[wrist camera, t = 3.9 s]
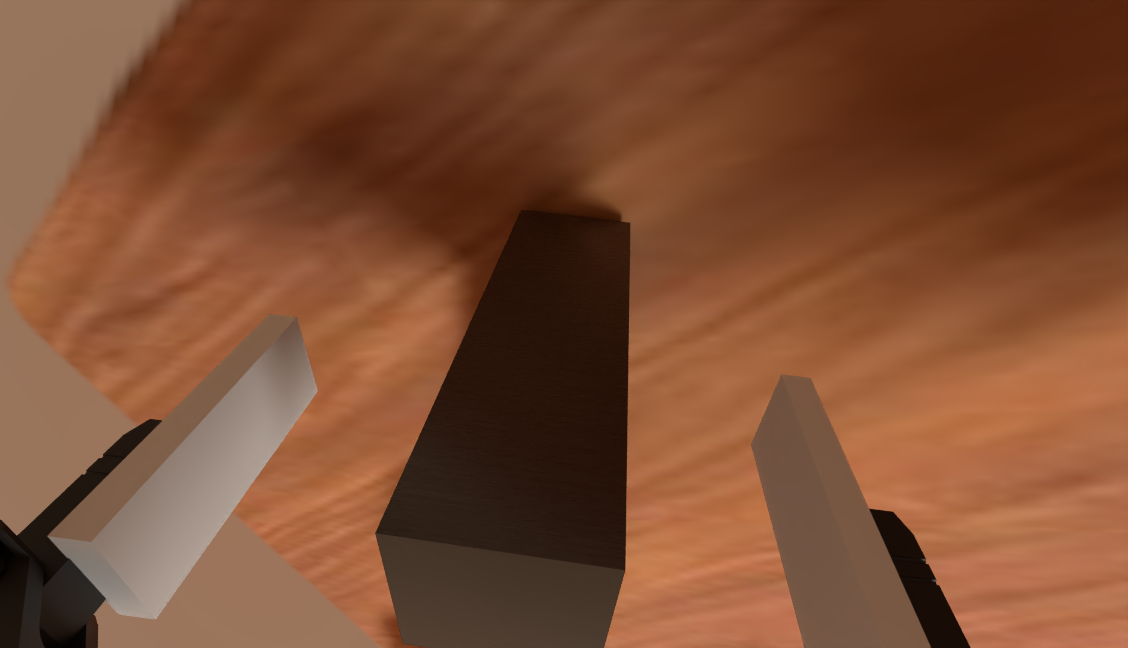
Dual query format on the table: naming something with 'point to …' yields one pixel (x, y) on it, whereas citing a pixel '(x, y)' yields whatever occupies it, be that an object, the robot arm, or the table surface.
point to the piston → (523, 455)
